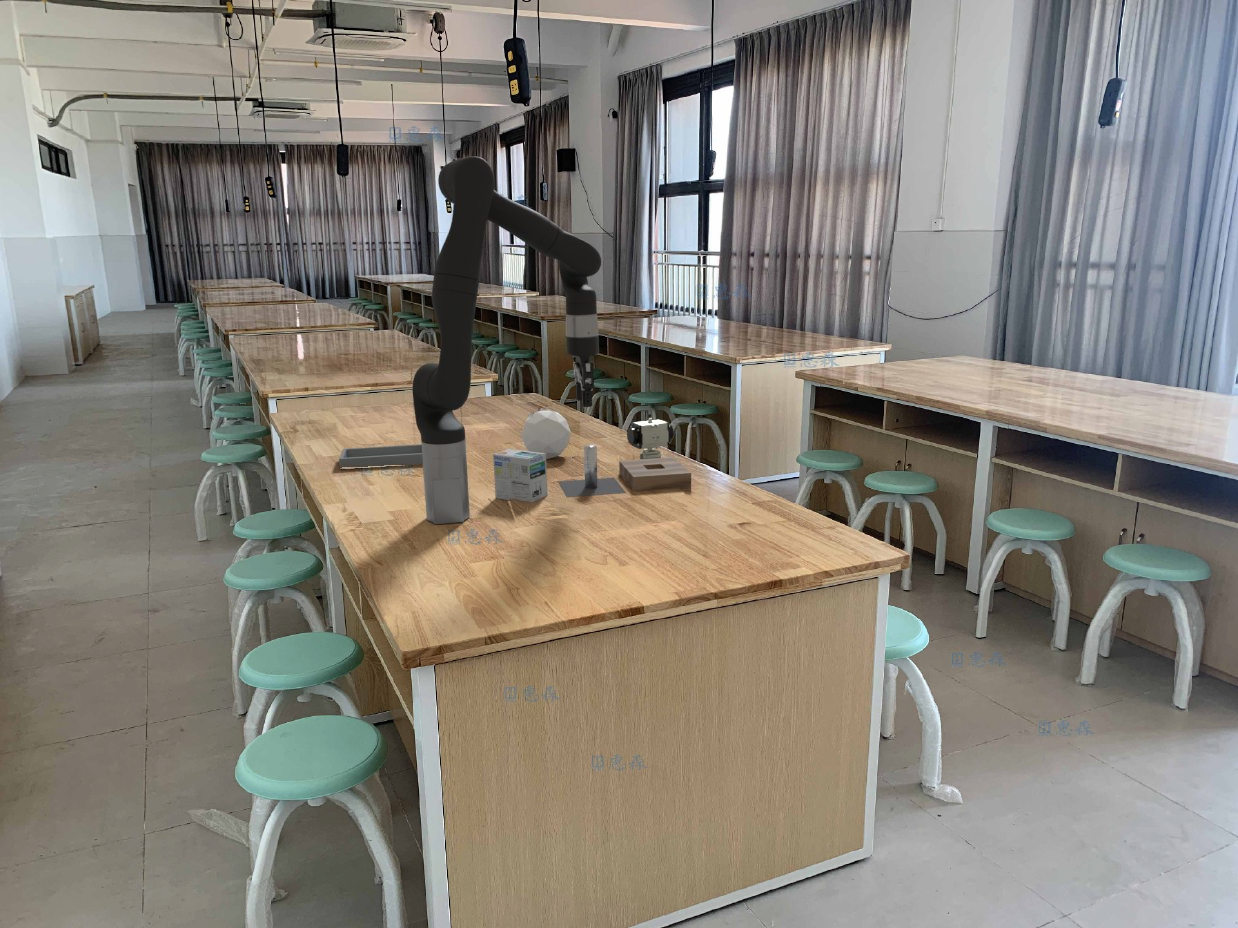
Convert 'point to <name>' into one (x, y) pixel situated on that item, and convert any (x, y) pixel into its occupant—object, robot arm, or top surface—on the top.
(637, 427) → the pneumatic valve
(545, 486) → the light bulb box
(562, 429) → the geodesic sphere
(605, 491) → the rubber mat
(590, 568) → the top surface
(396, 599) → the top surface
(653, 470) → the hole block
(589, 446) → the steel peg
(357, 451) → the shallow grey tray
